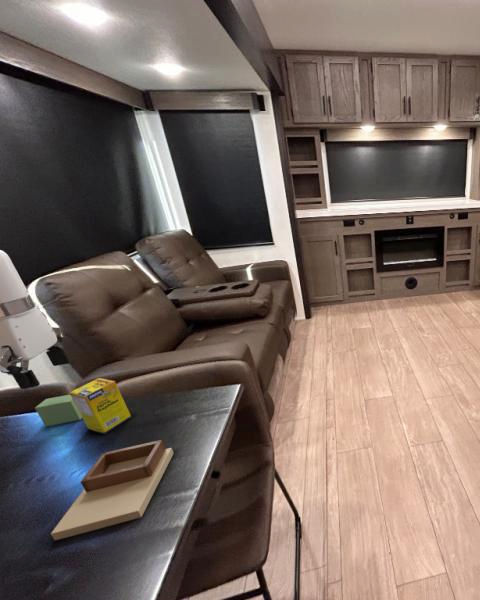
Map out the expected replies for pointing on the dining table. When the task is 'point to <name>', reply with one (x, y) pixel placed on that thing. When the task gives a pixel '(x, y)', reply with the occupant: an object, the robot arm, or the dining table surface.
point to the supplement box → (101, 405)
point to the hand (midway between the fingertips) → (47, 375)
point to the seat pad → (116, 488)
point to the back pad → (58, 410)
